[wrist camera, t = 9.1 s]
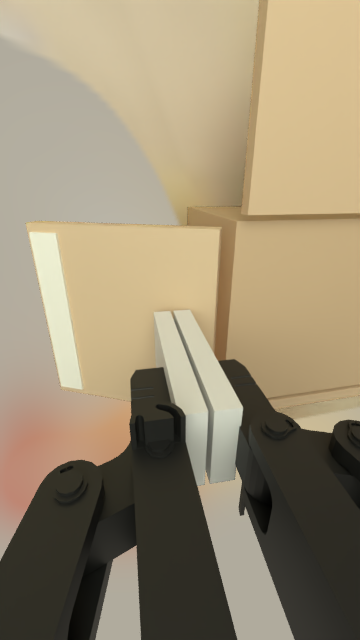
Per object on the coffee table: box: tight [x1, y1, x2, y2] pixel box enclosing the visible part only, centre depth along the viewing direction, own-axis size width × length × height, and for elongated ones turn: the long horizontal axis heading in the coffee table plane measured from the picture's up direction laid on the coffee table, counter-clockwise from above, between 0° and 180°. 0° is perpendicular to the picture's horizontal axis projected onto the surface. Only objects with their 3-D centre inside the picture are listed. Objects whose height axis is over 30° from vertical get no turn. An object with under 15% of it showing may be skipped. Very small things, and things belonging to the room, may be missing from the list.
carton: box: [188, 0, 360, 409], centre depth 18 cm, size 13×20×10 cm, turn 0°
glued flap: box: [26, 221, 222, 402], centre depth 15 cm, size 1×10×9 cm
